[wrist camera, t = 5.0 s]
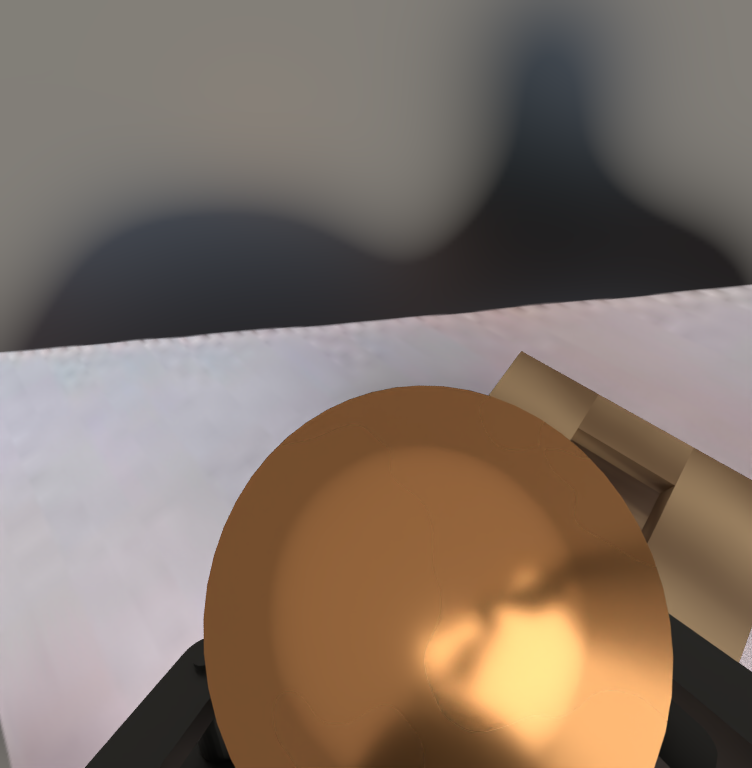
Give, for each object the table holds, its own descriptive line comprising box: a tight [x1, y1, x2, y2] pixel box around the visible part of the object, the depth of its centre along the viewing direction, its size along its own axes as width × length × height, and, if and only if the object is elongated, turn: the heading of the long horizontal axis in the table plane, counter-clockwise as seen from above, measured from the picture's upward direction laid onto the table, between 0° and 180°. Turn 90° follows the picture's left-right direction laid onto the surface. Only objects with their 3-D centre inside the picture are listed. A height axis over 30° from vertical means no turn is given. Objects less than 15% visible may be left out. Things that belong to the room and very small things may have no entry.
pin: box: [204, 386, 673, 768], centre depth 14 cm, size 7×7×20 cm
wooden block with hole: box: [489, 351, 752, 663], centre depth 29 cm, size 11×16×11 cm
